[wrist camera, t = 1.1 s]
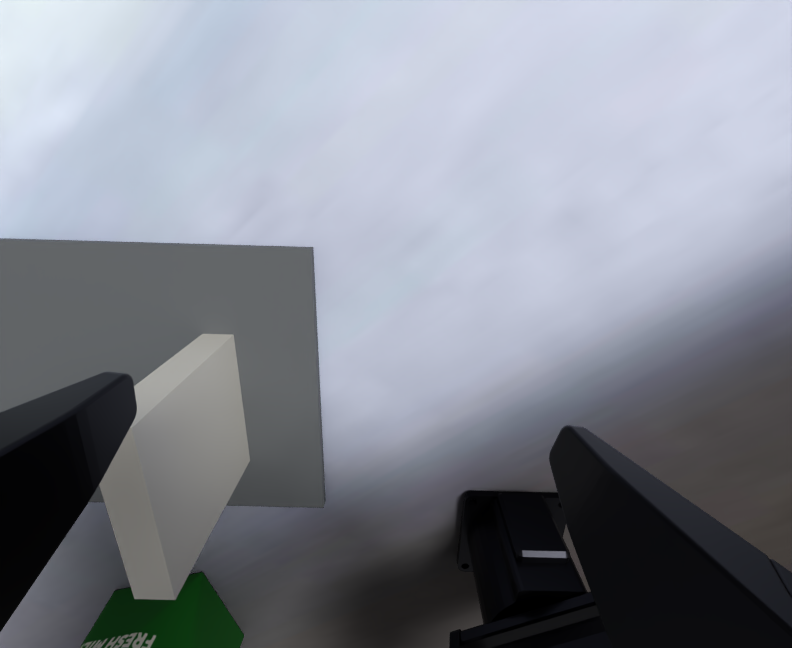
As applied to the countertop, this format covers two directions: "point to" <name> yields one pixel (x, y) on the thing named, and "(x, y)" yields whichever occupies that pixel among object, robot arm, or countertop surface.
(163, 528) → the tile
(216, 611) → the milk carton
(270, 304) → the mat
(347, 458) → the countertop surface
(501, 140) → the countertop surface
